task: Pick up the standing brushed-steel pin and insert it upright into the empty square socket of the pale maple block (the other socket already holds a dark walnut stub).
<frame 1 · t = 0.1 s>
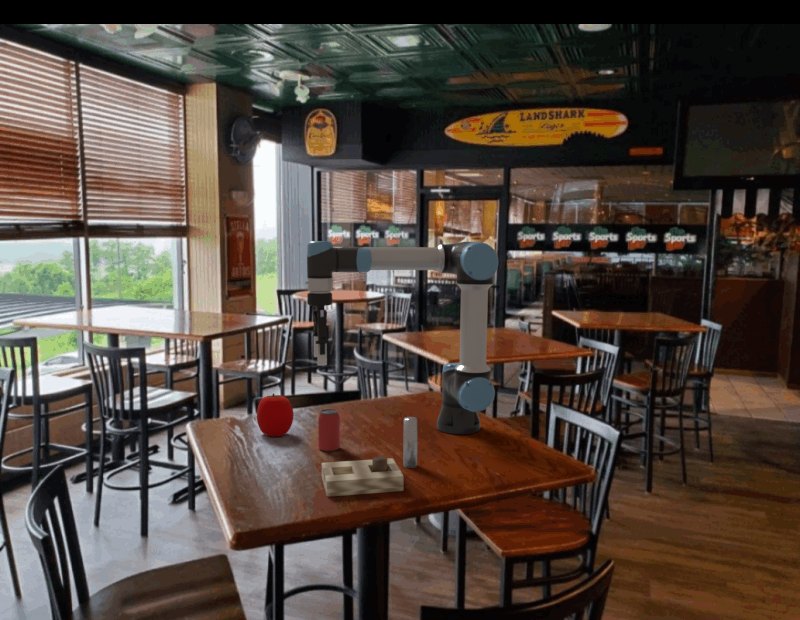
hand: (320, 360, 199), 28 cm above the table, fingers open, 13 cm apart
steel pin: (410, 465, 188), on the table
beer can: (329, 449, 203), on the table
tomato: (275, 435, 216), on the table
socket block: (361, 483, 174), on the table
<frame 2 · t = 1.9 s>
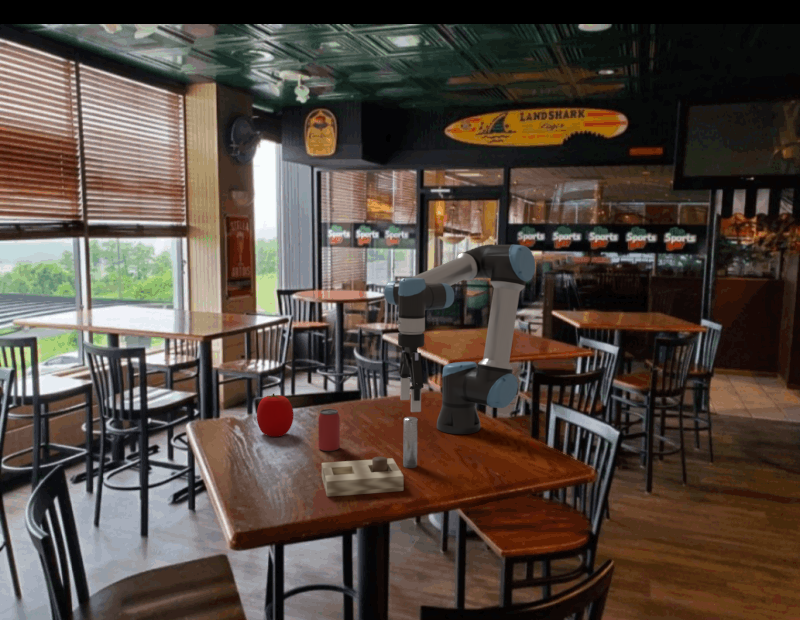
hand: (410, 405, 186), 18 cm above the table, fingers open, 13 cm apart
nothing on the table moved.
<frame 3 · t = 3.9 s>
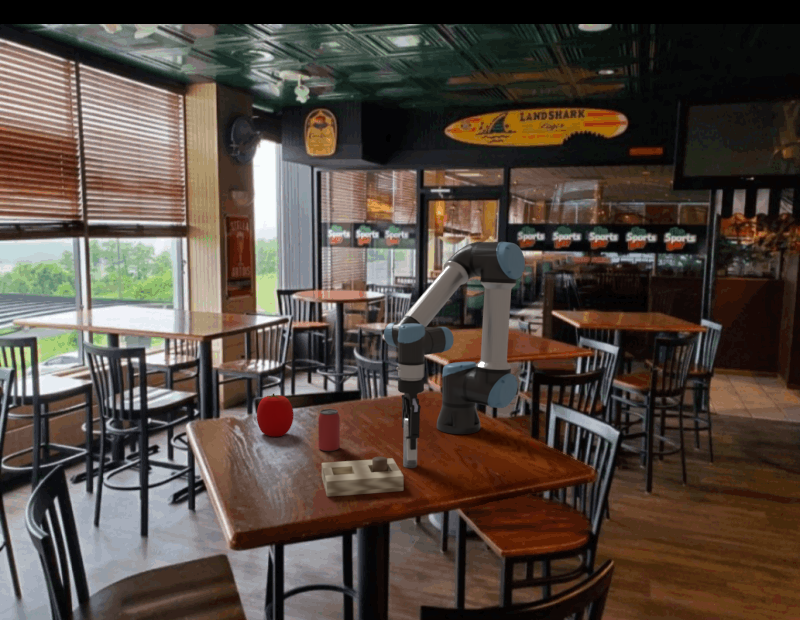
hand: (410, 456, 188), 3 cm above the table, fingers closed on steel pin, 4 cm apart
steel pin: (410, 465, 188), on the table, touching gripper
everything else where it was.
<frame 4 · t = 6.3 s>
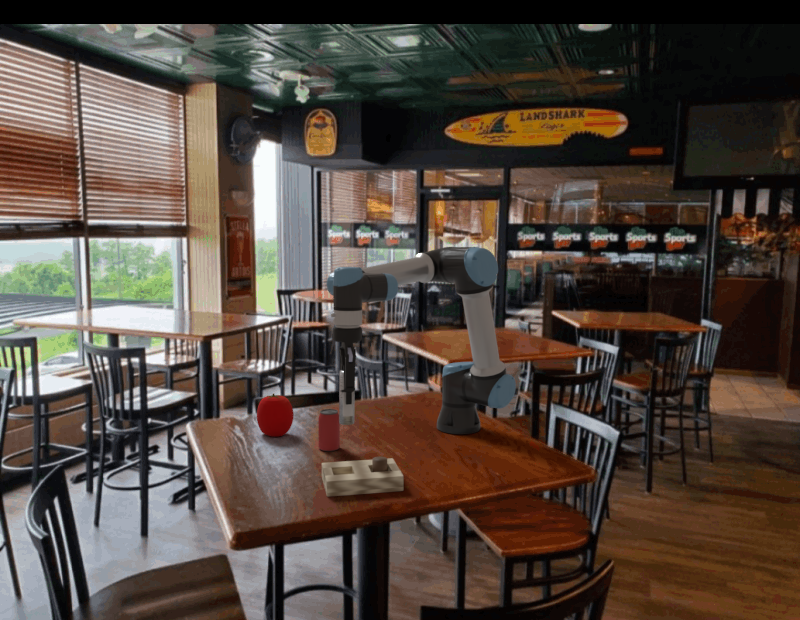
hand: (346, 413, 171), 19 cm above the table, fingers closed on steel pin, 4 cm apart
steel pin: (346, 422, 172), point 17 cm above the table, touching gripper
everything else where it was.
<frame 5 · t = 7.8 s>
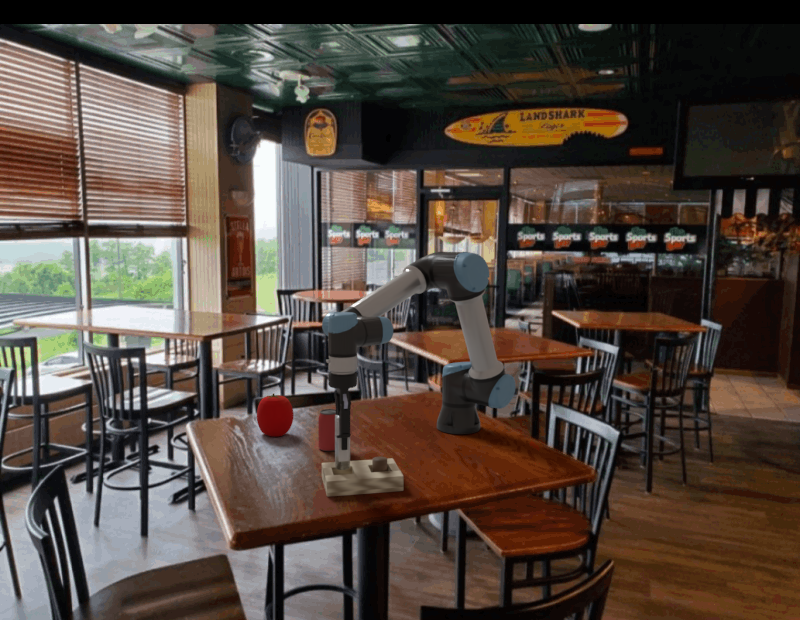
hand: (342, 457, 172), 8 cm above the table, fingers closed on steel pin, 4 cm apart
steel pin: (342, 467, 172), point 5 cm above the table, touching gripper
everything else where it was.
when the fingers open (5 cm above the table, at t = 8.8 s): steel pin drops 1 cm, resting on socket block.
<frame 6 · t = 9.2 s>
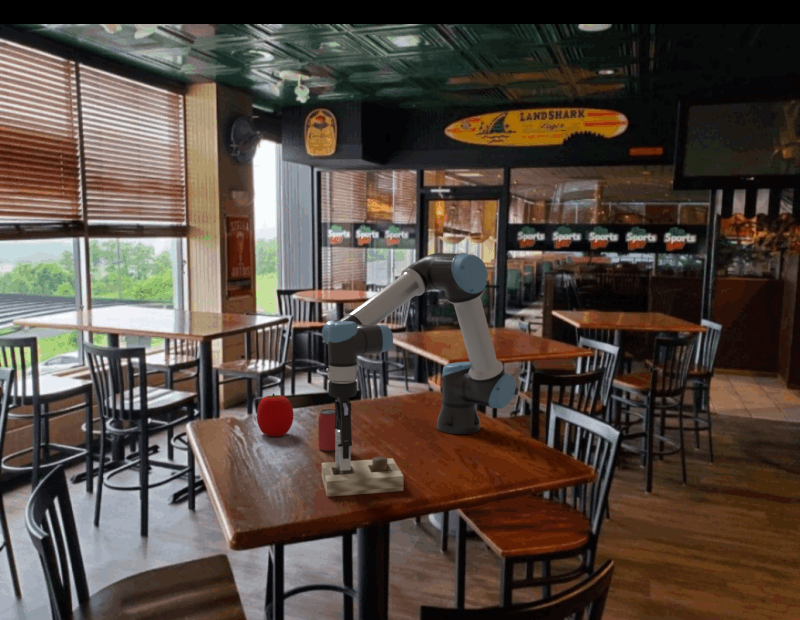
hand: (342, 463, 172), 6 cm above the table, fingers open, 9 cm apart
steel pin: (342, 481, 173), point 1 cm above the table, touching socket block
everything else where it was.
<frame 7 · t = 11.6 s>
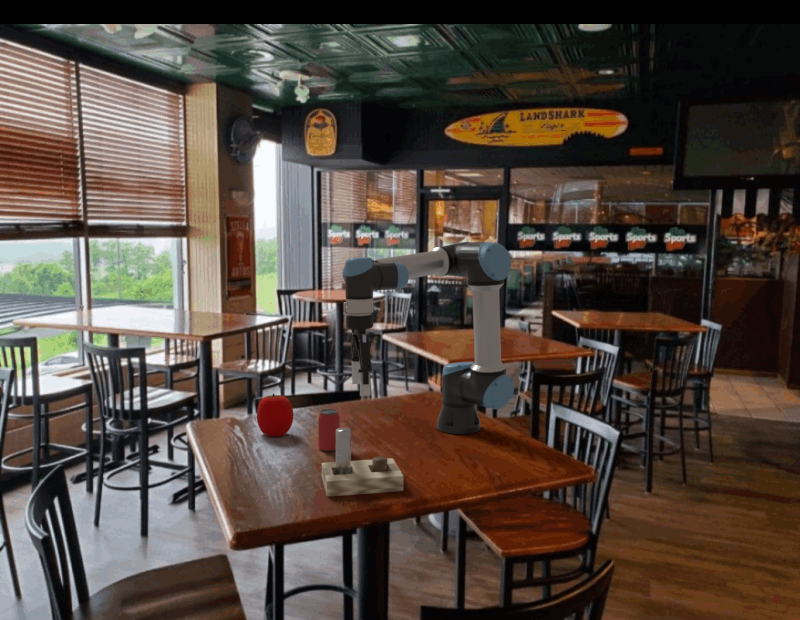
hand: (361, 389, 180), 24 cm above the table, fingers open, 13 cm apart
nothing on the table moved.
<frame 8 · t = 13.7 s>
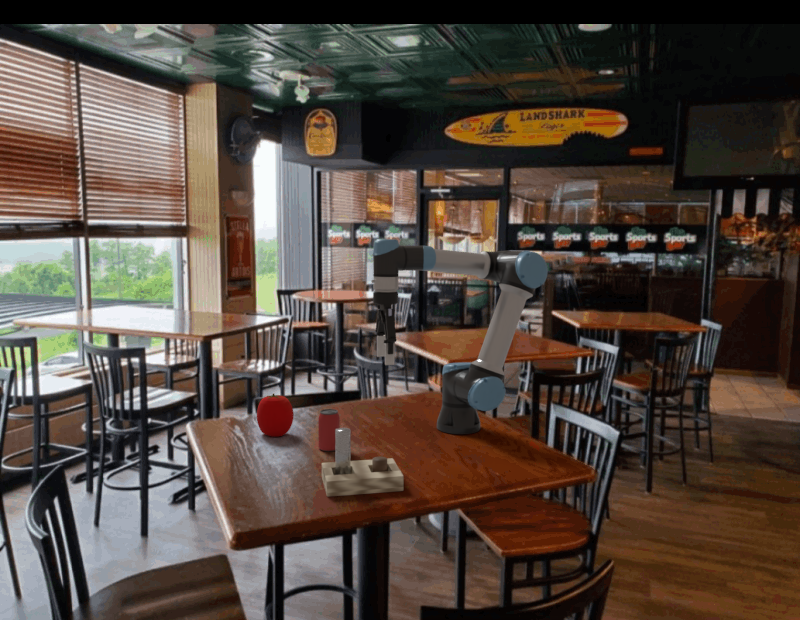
hand: (385, 360, 196), 29 cm above the table, fingers open, 13 cm apart
nothing on the table moved.
at the end: steel pin 0.1 cm from the target spot on the socket block, point 1.0 cm above the socket block's base; steel pin tilted 1°; the gripper is holding nothing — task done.
